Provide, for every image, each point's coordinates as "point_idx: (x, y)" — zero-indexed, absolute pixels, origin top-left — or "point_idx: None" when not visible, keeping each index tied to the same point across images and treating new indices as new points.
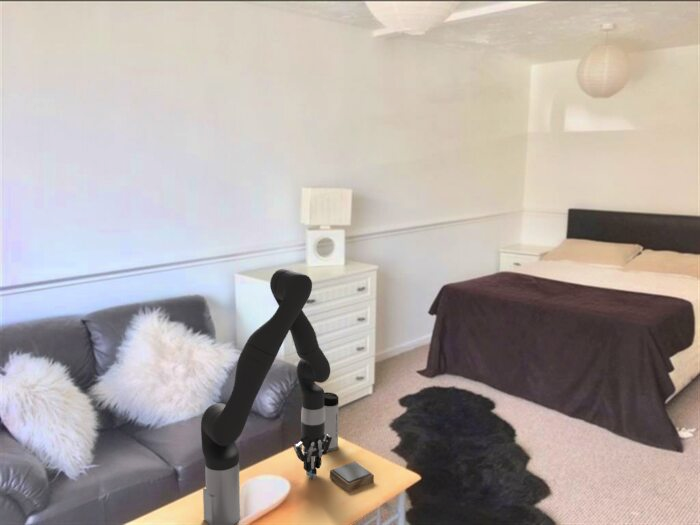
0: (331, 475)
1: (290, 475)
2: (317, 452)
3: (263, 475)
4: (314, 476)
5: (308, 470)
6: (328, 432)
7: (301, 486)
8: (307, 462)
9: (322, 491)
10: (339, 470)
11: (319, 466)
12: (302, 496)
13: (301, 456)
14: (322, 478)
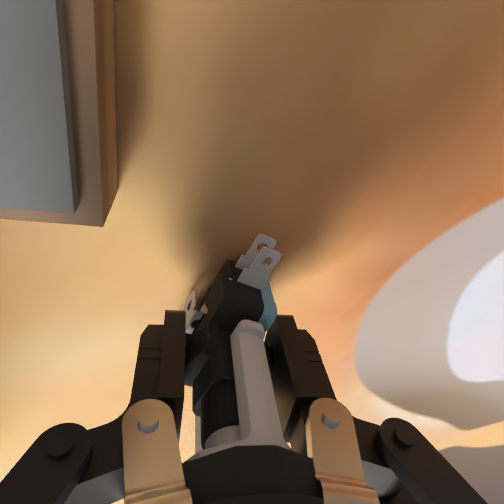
0: (110, 179)
1: (322, 361)
2: (218, 492)
3: (410, 417)
4: (273, 250)
5: (294, 324)
6: None
7: (380, 234)
8: (316, 397)
9: (333, 52)
10: (2, 134)
11: (171, 321)
12: (494, 122)
13: (461, 495)
14: (181, 220)
